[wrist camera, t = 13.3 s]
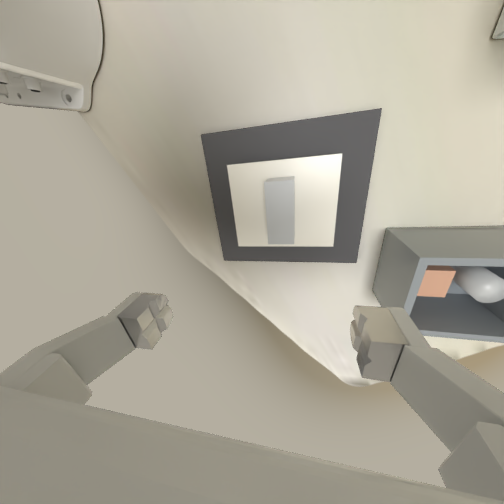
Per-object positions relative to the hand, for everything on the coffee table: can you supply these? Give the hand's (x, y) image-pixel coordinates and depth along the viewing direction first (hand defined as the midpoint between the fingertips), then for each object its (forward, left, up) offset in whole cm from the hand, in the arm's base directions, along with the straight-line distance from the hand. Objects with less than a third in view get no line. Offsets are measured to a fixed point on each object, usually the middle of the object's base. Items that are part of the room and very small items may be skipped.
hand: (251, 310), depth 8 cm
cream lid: (0, 0, -20) cm, 20 cm away
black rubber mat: (0, 0, -21) cm, 21 cm away
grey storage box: (+19, -9, -21) cm, 29 cm away
